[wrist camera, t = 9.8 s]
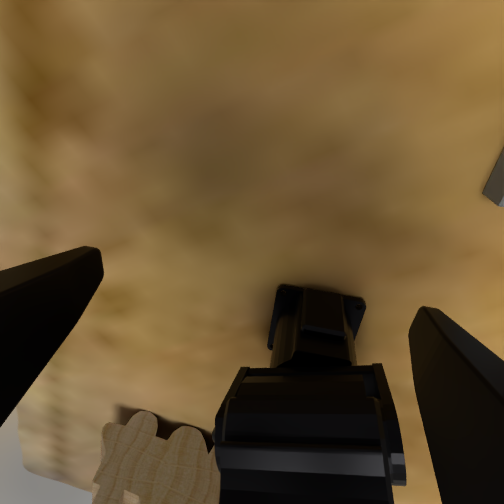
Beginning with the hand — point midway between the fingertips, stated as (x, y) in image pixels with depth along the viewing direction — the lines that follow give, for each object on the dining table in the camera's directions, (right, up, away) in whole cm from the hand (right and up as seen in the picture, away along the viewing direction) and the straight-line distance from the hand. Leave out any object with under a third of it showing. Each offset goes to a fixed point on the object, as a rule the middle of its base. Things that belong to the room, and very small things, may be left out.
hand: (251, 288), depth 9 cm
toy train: (-7, -20, +28) cm, 35 cm away
